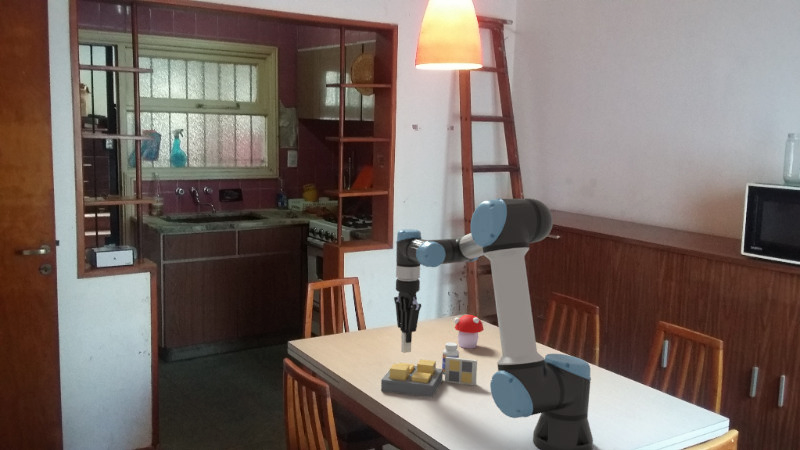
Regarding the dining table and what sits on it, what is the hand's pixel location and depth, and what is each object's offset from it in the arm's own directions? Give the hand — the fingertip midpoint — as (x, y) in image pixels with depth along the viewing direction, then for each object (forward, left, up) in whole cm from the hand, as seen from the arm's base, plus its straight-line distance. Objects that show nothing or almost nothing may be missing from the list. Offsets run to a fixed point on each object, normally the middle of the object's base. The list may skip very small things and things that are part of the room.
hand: (406, 351), depth 229 cm
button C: (0, -7, -7) cm, 10 cm away
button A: (-7, -7, -9) cm, 13 cm away
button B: (-7, 0, -7) cm, 10 cm away
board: (-3, -3, -10) cm, 11 cm away
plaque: (+4, -17, -10) cm, 20 cm away
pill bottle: (+13, -12, -10) cm, 20 cm away
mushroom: (+45, -13, -10) cm, 48 cm away
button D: (0, 0, -9) cm, 9 cm away
